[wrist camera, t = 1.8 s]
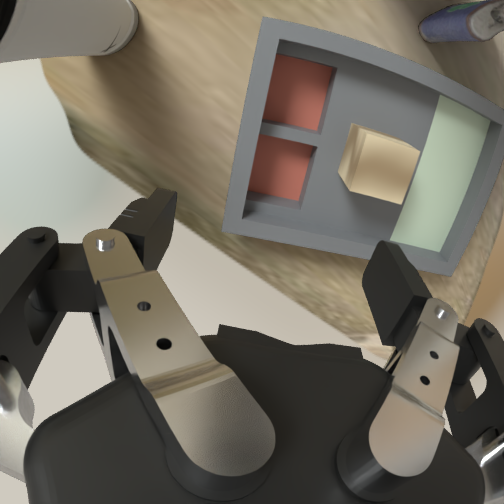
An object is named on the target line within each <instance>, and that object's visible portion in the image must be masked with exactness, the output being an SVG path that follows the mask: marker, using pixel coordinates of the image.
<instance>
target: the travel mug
mask: <svg viewBox="0 0 504 504" xmlns="http://www.w3.org/2000/svg"><path fill="white" fill-rule="evenodd" d="M137 25H138V11H137V9H136V6H135V5H134V4H133V2H132V1H131V0H0V63H3V62H11V61H18V60H27V59H37V58H48V57H64V56H95V55H110V54H113V53H115V52H117V51H119V50H121V49H122V48H123V47H124V46H126V45H127V43H128V42H129V41H130V40H131V39H132V37H133V36H134V33H135V31H136V29H137Z"/></svg>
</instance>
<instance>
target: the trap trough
mask: <svg viewBox="0 0 504 504" xmlns="http://www.w3.org/2000/svg"><path fill="white" fill-rule="evenodd" d="M351 123H354V124H357V125H360V126H364V127H367V128H370V129H373V130H376V131H379V132H382V133H385V134H388V135H391V136H394V137H397V138H399V139H401V140H403V141H404V142H406V143H408V144H409V145H411V146H412V147H414V148H416V149H417V150H419V151H420V154H419V157H418V160H417V163H416V166H415V169H414V172H413V175H412V177H411V180H410V183H409V186H408V188H407V191H406V194H405V197H404V199H403V202H402V204H397V203H394V202H390V201H386V200H383V199H379V198H375V197H372V196H368V195H364V194H360V193H356V192H352V191H349V189H348V187H347V186H346V184H345V183H344V181H343V180H342V178H341V176H340V175H339V173H338V169H339V166H340V162H341V159H342V155H343V152H344V149H345V145H346V141H347V138H348V134H349V131H350V127H351ZM503 159H504V109H502V108H501V107H499V106H497V105H496V104H494V103H493V102H491V101H489V100H488V99H486V98H484V97H483V96H481V95H479V94H477V93H476V92H474V91H472V90H470V89H469V88H467V87H465V86H463V85H461V84H459V83H457V82H456V81H454V80H452V79H450V78H448V77H446V76H444V75H442V74H440V73H438V72H435V71H433V70H431V69H429V68H427V67H425V66H423V65H420V64H418V63H416V62H413V61H411V60H409V59H406V58H404V57H402V56H399V55H397V54H394V53H392V52H389V51H386V50H384V49H381V48H378V47H376V46H373V45H370V44H367V43H364V42H361V41H358V40H355V39H352V38H349V37H346V36H342V35H339V34H336V33H332V32H329V31H325V30H321V29H318V28H314V27H310V26H306V25H302V24H297V23H293V22H288V21H283V20H278V19H273V18H268V17H263V18H262V22H261V27H260V31H259V36H258V41H257V45H256V50H255V55H254V59H253V64H252V69H251V74H250V79H249V84H248V88H247V93H246V98H245V104H244V109H243V114H242V119H241V124H240V129H239V135H238V140H237V145H236V151H235V156H234V162H233V167H232V173H231V178H230V184H229V190H228V195H227V201H226V207H225V213H224V219H223V225H222V232H227V233H232V234H238V235H243V236H248V237H254V238H259V239H264V240H270V241H275V242H280V243H285V244H291V245H296V246H301V247H306V248H311V249H317V250H322V251H327V252H332V253H337V254H342V255H347V256H352V257H357V258H362V259H367V260H370V259H371V256H372V254H373V252H374V250H375V248H376V246H377V244H378V242H379V241H381V240H384V241H387V242H391V243H395V244H398V245H399V246H400V248H401V249H402V251H403V252H404V254H405V256H406V257H407V259H408V261H409V262H410V263H411V264H412V265H413V266H415V268H416V269H417V270H421V271H426V272H431V273H436V274H441V275H445V276H450V277H451V276H452V274H453V272H454V270H455V268H456V267H457V265H458V263H459V261H460V259H461V257H462V255H463V253H464V251H465V249H466V247H467V245H468V243H469V241H470V239H471V237H472V235H473V233H474V230H475V228H476V226H477V224H478V222H479V219H480V217H481V215H482V213H483V210H484V208H485V206H486V203H487V201H488V198H489V196H490V194H491V191H492V188H493V186H494V183H495V181H496V178H497V175H498V173H499V170H500V167H501V164H502V161H503Z"/></svg>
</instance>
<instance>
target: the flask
mask: <svg viewBox="0 0 504 504" xmlns="http://www.w3.org/2000/svg"><path fill="white" fill-rule="evenodd" d="M502 31H504V0H486V1H480V2H472V3H466V4H465V3H464V4H458V5H451V6H447V7H446V8H444V9H441V10H440V11H438V12H435V13H434V14H431V15H429V16H428V17H426V18H425V19H424V20H423V21H422V22H421V23H420V25H419V33H421V37H422V38H423V39H424V40H425V41H427V42H430V43H437V42H447V41H482V42H483V41H487V40H490V39H492V38H493V37H494V36H495V35H497V34H498V33H500V32H502Z"/></svg>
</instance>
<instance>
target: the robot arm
mask: <svg viewBox="0 0 504 504" xmlns="http://www.w3.org/2000/svg"><path fill="white" fill-rule="evenodd" d="M176 201H177V192H176V191H171V190H166V189H161V188H157V189H156V190H155V191H154V192H153V194H152V195H151V196H150V197H149V198H148V199H146V198H140V199H137V200H135V201H133V202H131V203H130V204H129V205H128V206H127V207H126V210H124V211H123V212H122V213H121V215H119V216H118V218H117V219H116V220H115V221H114V222H113V223H112V224H111V226H110V227H109V228H108V229H99V230H94V231H92V232H90V233H88V234H87V235H86V236H85V237H84V238H83V242H82V243H80V244H71V243H58V234H57V232H56V231H55V230H53V229H51V228H48V227H34V228H30V229H27V230H25V231H24V232H22V233H21V234H20V235H19V236H17V238H16V239H15V240H14V241H13V242H12V243H11V244H10V245H9V246H8V247H7V248H6V249H5V250H4V251H3V252H2V253H1V254H0V471H2V472H4V473H6V474H8V475H10V476H12V477H14V478H16V479H18V480H20V481H22V482H25V483H26V487H27V491H28V499H29V504H504V341H503V339H502V337H501V335H500V334H499V333H498V331H497V329H496V328H495V327H494V326H493V325H492V324H491V323H489V322H488V321H486V320H484V319H480V318H478V319H476V320H475V321H474V323H473V324H472V325H471V327H470V328H469V327H467V326H464V325H462V324H460V323H458V316H457V314H456V312H455V311H454V309H453V308H452V307H451V306H450V305H448V304H447V303H446V302H444V301H442V300H440V299H437V298H433V297H432V295H431V293H430V292H429V290H428V288H427V286H426V285H425V283H424V282H423V280H422V278H421V276H419V273H418V271H417V270H416V268H415V266H413V265H412V264H411V263H410V262H409V261H408V259H407V257H406V256H405V254H404V252H403V251H402V249H401V248H400V246H399V245H398V244H395V243H391V242H387V241H384V240H381V241H379V242H378V244H377V246H376V248H375V250H374V252H373V254H372V256H371V259H370V261H369V263H368V265H367V267H366V269H365V271H364V274H363V278H362V287H363V290H364V292H365V295H366V298H367V301H368V304H369V306H370V309H371V312H372V315H373V318H374V321H375V324H376V327H377V330H378V333H379V336H380V339H381V342H382V345H387V346H395V347H396V348H395V350H394V351H393V353H392V354H391V356H390V357H389V359H388V361H387V363H386V364H385V366H384V368H381V367H380V366H378V365H376V364H374V363H372V362H370V361H368V360H365V359H363V356H362V352H361V348H358V347H351V346H343V345H335V344H314V345H292V344H289V343H286V342H283V341H281V340H278V339H275V338H273V337H269V336H267V335H265V334H262V333H259V332H257V331H252V330H246V329H241V328H236V327H231V326H226V325H221V324H220V325H219V328H218V333H217V335H205V336H198V334H197V332H196V331H195V329H194V328H193V326H192V325H191V323H190V322H189V320H188V319H187V317H186V315H185V314H184V313H183V311H182V309H181V308H180V306H179V305H178V303H177V301H176V300H175V298H174V297H173V295H172V294H171V292H170V290H169V289H168V287H167V285H166V284H165V282H164V281H163V279H162V277H161V276H160V274H159V273H158V271H157V268H158V266H159V264H160V262H161V260H162V258H163V256H164V254H165V252H166V250H167V248H168V246H169V243H170V240H171V237H172V232H173V225H174V217H175V209H176ZM67 312H90V316H91V319H92V322H93V326H94V328H95V332H96V334H97V337H98V340H99V343H100V346H101V348H102V351H103V354H104V357H105V360H106V363H107V367H108V370H109V374H110V377H111V380H112V382H110V383H109V384H107V385H105V386H103V387H102V388H100V389H98V390H96V391H95V392H93V393H91V394H89V395H87V396H86V397H84V398H82V399H81V400H79V401H77V402H75V403H73V404H72V405H70V406H68V407H66V408H64V409H63V410H61V411H59V412H57V413H55V414H53V415H52V416H50V417H48V418H47V419H46V420H44V421H43V422H42V423H41V424H40V425H39V426H38V427H37V428H36V429H35V430H34V429H33V427H32V420H33V416H34V403H33V400H32V398H31V396H30V394H29V392H28V388H29V386H30V384H31V381H32V379H33V377H34V374H35V372H36V371H37V368H38V366H39V364H40V362H41V360H42V358H43V356H44V354H45V352H46V350H47V348H48V346H49V344H50V342H51V340H52V339H53V337H54V335H55V333H56V331H57V329H58V327H59V325H60V324H61V322H62V320H63V318H64V316H65V314H66V313H67ZM480 367H482V369H483V372H484V374H485V377H486V379H487V385H486V389H485V391H484V392H483V393H482V394H481V395H480V396H479V397H478V398H477V399H476V396H475V393H474V390H473V388H472V386H471V382H470V378H471V377H472V376H473V375H474V374H475V373H476V372H477V371H478V370H479V368H480ZM444 407H445V410H446V414H447V417H448V421H449V425H450V428H451V432H452V435H451V434H450V433H449V432H448V431H447V430H446V429H445V428H444V425H445V419H444V418H443V417H442V413H443V410H444Z"/></svg>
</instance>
